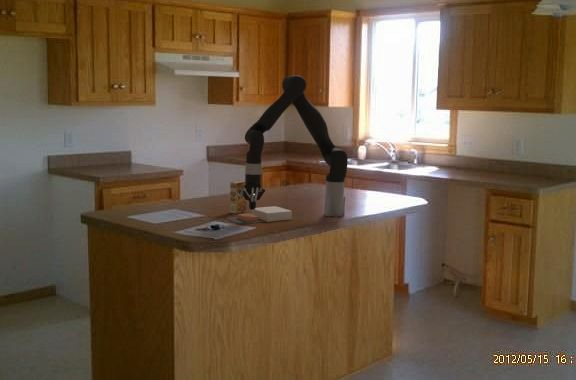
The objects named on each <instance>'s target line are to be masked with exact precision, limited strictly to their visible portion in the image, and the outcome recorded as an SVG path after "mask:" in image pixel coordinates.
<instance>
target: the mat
mask: <svg viewBox="0 0 576 380" xmlns="http://www.w3.org/2000/svg"><path fill="white" fill-rule="evenodd" d="M224 220H226V221H230V222H233V223H235V224H238V225H250V224H257V223H266V221H264V220H261V219H258V221H251V222H246V221H243V220H240V219H237V216H235V217H226V218H225V219H224Z"/></svg>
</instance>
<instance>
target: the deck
mask: <svg viewBox="0 0 576 380" xmlns="http://www.w3.org/2000/svg"><path fill="white" fill-rule="evenodd" d="M250 210H251V209H250ZM292 213H293V211H292V210H289V209H286V208H283V207H279V206H276V205H273V206H263V207H256V208H255V209H254V210H251V211H250V214H252V215H255V216H258V219H261V220H264V221H266V222H267V223H268V222H277V221H288V220H292V219H293V214H292ZM266 222H265V223H266Z"/></svg>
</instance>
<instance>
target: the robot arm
mask: <svg viewBox="0 0 576 380" xmlns="http://www.w3.org/2000/svg"><path fill="white" fill-rule="evenodd" d="M281 85H282V86H281V87H282V90H283V93H282V94H281V96H280V97H278V99H276V100H275V101H274V102H273V103H271V105H270V106H269V107H268V108H266V110H265V111H264V112H263V113H262V115H261V116H260V117H259V119H258V120H257V121H256V122H254V123H253V124H252V125H251V126H250V127H249V128H248V130H247V131H246V133H245V135H244V140H245V142H246V143H247V144H248V145H249V150H247V151H246V156H245V158H246V159H245V167H244V169H245V170H244V171H245V172H244V173H245V175H244V176H245V177H244V181H245V188H244V189H243V190H241V191H240V192H241V194H242V195H243V197H244V198H245V200H247V202H248V207H249V210H254V209H255V208H257V201H259V200H261V198H262V196H263V195H264V194H265V192H266V189H264V188H263V187H262V185H261V183H262V153H263V149H264V144H265V135H264V134H265V133H266V132H268V131H270V130H271V129H272V128H273V126H274V125H275V124H276V123H277V121H278V120H279V119H280V117H281V116H282V115H283V113H284V112H286V110H287V109H288V108H289V107H290V105H292V104H293V106H294V107H295V110H296V112H297V114H298V115H299V117H300V118H301V120H302V122H303V125H305V127H306V129H307V131H308V132H309V134H310V136H311V137H312V138H313V141H314V142H315V143H316V145H317V147H318V149H319V152H320V153H321V156H322V158H323V160H324V162H325V163H326V165H327V166H329V172H328V174H326V175H325V191H324V193H325V194H324V210H323V211H324V213H323V214H324V216H327V217H330V216H333V218H339V217H338V216H340V217H343V216H345V211H346V209H345V206H346V196H345V195H344V194H345V180H346V177H347V172H348V164H349V163H348V160H349V159H348V154H347V153H346V151H345V150H344V149H340V148H337V147H336V146H335V144H334V143H333V142H332V140H331V138H330V135H329V129H328V125H327V122H326V121H325V119H324V117H323V114H321V111H320V110H319V109H318V108H317V107H316V106H315V105H314V104H313V103H312V102H311V101H310V100H309V99H308V98H307V96H306V95H305V93H304V92H305V90H306V88H307V82H306V79H305V78H304V77H303V76H300V75H288V76H285V77H284V78H283V80H282V83H281ZM246 191H247V192H246ZM342 215H343V216H342Z"/></svg>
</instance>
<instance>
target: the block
mask: <svg viewBox="0 0 576 380" xmlns="http://www.w3.org/2000/svg"><path fill="white" fill-rule="evenodd" d="M236 215H237V216H236V217H237V219H240V220H243V221H246V222H251V221H258V216H255V215H252V214H251V213H249V212H248V213H247V212H244V213H236Z"/></svg>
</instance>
